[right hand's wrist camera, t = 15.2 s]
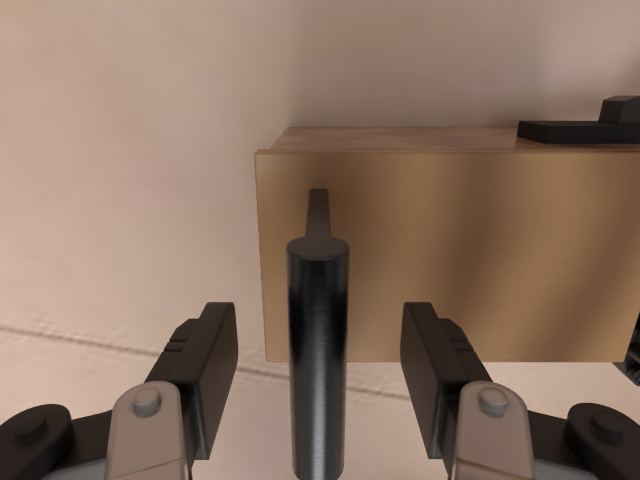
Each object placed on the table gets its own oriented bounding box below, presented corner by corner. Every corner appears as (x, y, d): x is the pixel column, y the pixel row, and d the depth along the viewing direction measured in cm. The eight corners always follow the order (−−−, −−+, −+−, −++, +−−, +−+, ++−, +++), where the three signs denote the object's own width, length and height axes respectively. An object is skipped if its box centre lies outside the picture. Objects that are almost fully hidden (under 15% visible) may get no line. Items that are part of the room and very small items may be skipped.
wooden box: (290, 268, 27) (277, 349, 19) (286, 127, 24) (268, 149, 16) (520, 268, 27) (609, 349, 19) (547, 127, 24) (669, 148, 16)
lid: (268, 350, 19) (235, 517, 12) (257, 149, 16) (201, 204, 8) (610, 350, 19) (796, 518, 12) (670, 149, 16) (984, 204, 8)
